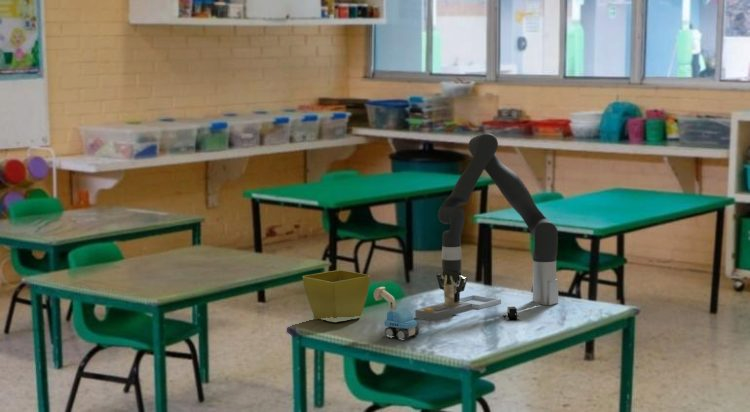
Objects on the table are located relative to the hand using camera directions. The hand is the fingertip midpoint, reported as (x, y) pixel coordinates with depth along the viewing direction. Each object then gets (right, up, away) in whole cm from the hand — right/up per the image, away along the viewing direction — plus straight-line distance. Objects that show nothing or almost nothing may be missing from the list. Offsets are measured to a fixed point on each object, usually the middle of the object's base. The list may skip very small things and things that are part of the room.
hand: (451, 301), depth 485 cm
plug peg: (0, -2, 0) cm, 2 cm away
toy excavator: (-22, -10, -37) cm, 44 cm away
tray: (+10, -3, +11) cm, 16 cm away
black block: (+22, -6, -11) cm, 25 cm away
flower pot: (-44, -6, -8) cm, 45 cm away
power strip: (-3, -5, -3) cm, 7 cm away
